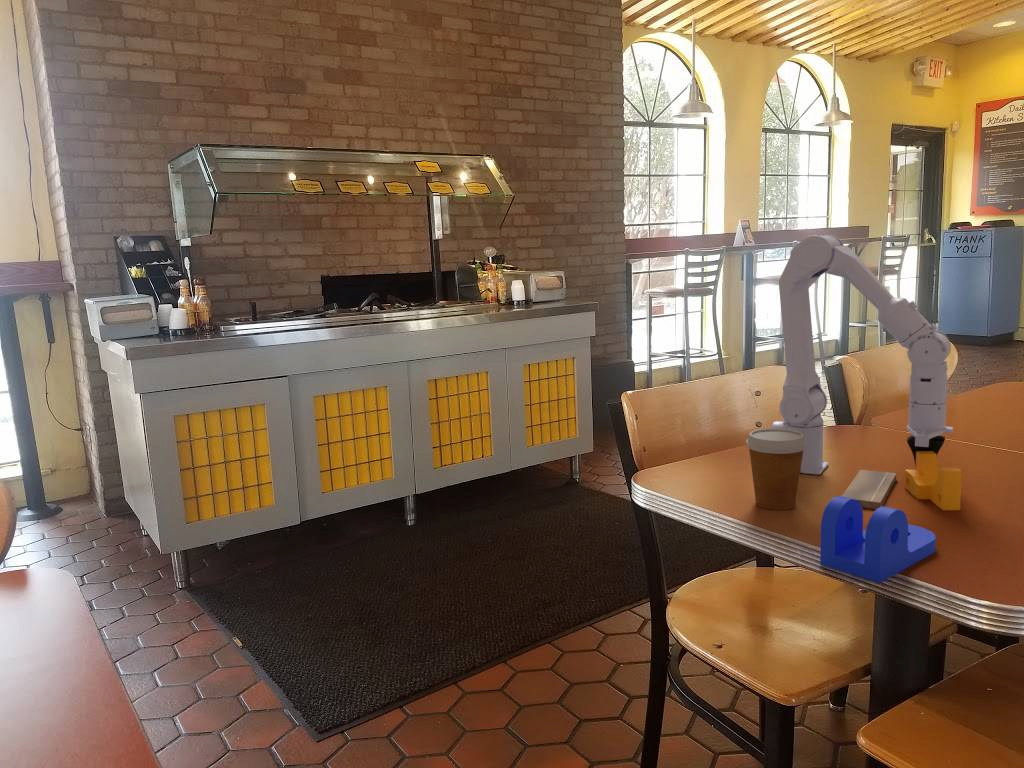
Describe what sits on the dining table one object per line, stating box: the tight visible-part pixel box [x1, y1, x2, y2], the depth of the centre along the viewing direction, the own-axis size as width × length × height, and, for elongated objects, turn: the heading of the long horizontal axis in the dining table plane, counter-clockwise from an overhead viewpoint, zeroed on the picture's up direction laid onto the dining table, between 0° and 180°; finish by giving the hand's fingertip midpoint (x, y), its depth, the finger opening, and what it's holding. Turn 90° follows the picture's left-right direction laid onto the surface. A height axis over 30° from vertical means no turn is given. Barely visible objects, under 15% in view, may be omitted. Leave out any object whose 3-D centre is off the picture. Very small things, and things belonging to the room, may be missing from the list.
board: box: [841, 469, 897, 510], centre depth 136 cm, size 6×18×1 cm, turn 147°
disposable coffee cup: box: [745, 428, 807, 511], centre depth 131 cm, size 10×10×12 cm
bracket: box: [819, 495, 937, 584], centre depth 108 cm, size 18×8×9 cm, turn 127°
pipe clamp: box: [903, 451, 963, 511], centre depth 130 cm, size 12×4×6 cm, turn 172°
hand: (924, 477), depth 139 cm, fingers closed
